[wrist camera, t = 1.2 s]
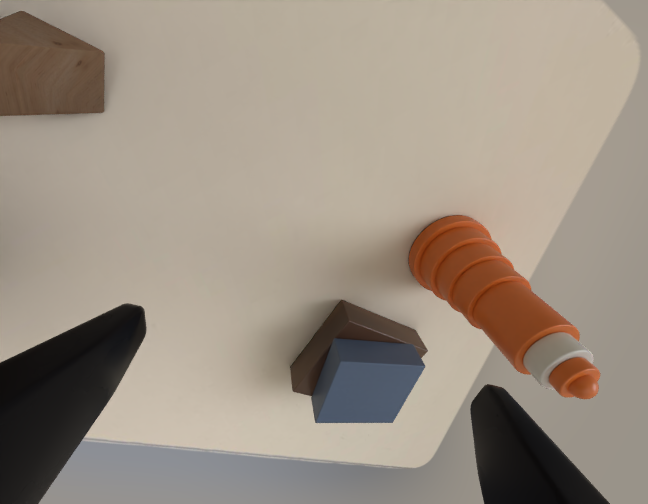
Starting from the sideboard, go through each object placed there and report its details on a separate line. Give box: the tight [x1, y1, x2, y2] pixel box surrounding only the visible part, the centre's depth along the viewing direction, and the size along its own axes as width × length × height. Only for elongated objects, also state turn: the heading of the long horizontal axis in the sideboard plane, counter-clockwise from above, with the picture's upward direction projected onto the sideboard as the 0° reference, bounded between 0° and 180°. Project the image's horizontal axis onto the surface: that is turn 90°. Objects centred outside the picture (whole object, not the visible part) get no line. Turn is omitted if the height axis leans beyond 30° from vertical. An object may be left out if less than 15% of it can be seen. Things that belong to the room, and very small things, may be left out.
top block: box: [311, 338, 425, 423], centre depth 24 cm, size 7×7×2 cm
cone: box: [409, 215, 600, 399], centre depth 19 cm, size 6×6×12 cm
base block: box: [290, 300, 428, 396], centre depth 26 cm, size 8×8×2 cm
